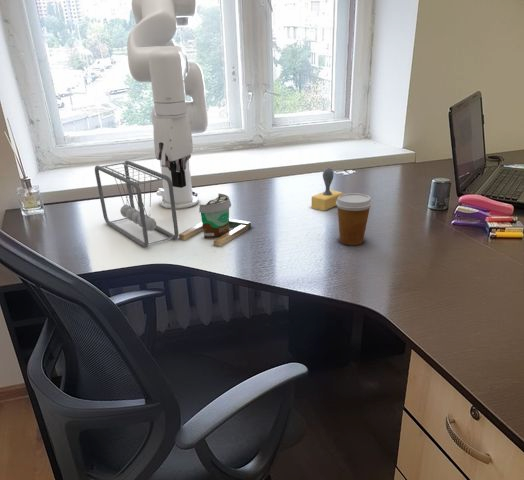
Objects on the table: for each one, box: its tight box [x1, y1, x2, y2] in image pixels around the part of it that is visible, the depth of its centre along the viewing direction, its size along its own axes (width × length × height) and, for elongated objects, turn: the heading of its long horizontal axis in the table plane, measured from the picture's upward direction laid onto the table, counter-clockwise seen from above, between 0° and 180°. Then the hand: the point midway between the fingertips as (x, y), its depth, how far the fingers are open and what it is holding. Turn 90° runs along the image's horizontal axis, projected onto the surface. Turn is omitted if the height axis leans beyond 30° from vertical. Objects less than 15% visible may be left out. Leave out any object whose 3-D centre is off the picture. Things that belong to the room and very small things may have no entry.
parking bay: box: [178, 218, 252, 248], centre depth 154 cm, size 14×17×2 cm
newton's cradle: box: [94, 160, 179, 248], centre depth 153 cm, size 30×10×18 cm, turn 36°
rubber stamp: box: [311, 167, 344, 212], centre depth 170 cm, size 10×6×12 cm, turn 137°
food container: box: [198, 193, 232, 239], centre depth 151 cm, size 12×6×10 cm, turn 156°
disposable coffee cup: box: [336, 192, 373, 246], centre depth 142 cm, size 10×10×12 cm
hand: (179, 186), depth 136 cm, fingers closed
